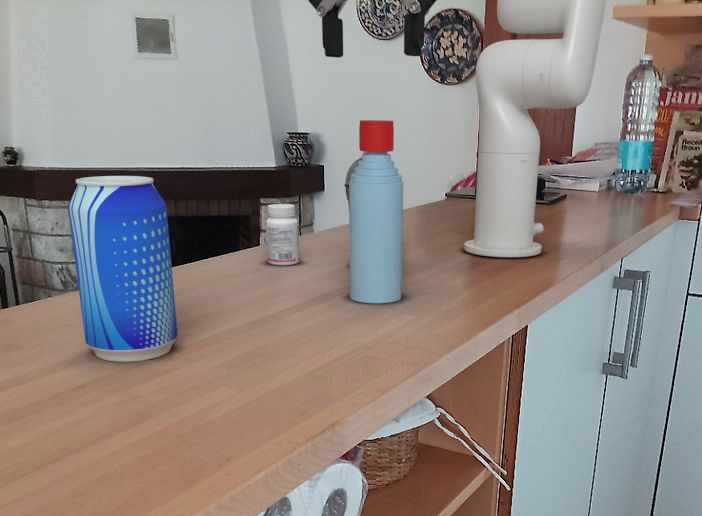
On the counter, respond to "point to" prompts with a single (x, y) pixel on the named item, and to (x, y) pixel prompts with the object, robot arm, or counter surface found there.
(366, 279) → the water bottle
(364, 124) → the cap
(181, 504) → the counter surface
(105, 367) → the counter surface
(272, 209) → the pill bottle
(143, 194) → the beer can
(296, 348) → the counter surface
